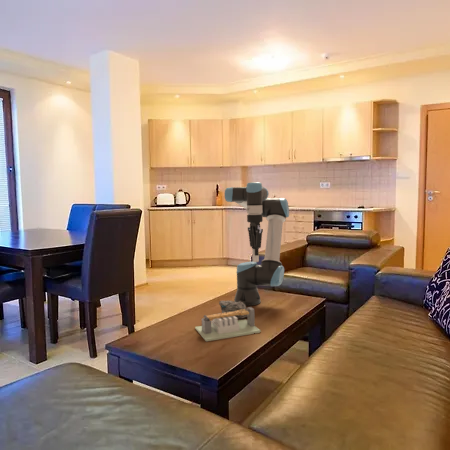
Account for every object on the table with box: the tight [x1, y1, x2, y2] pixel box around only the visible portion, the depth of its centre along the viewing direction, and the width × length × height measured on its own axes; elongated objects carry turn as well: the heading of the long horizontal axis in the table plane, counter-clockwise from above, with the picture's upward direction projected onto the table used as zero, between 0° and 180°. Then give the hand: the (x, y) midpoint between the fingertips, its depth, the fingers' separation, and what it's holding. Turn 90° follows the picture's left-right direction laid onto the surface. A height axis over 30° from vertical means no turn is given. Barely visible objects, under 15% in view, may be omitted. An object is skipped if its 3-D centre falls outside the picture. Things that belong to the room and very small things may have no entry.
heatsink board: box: [194, 306, 262, 342], centre depth 179 cm, size 17×26×9 cm, turn 110°
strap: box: [203, 309, 249, 321], centre depth 178 cm, size 21×5×1 cm, turn 110°
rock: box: [218, 300, 247, 320], centre depth 198 cm, size 16×8×10 cm, turn 60°
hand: (255, 261), depth 191 cm, fingers closed
